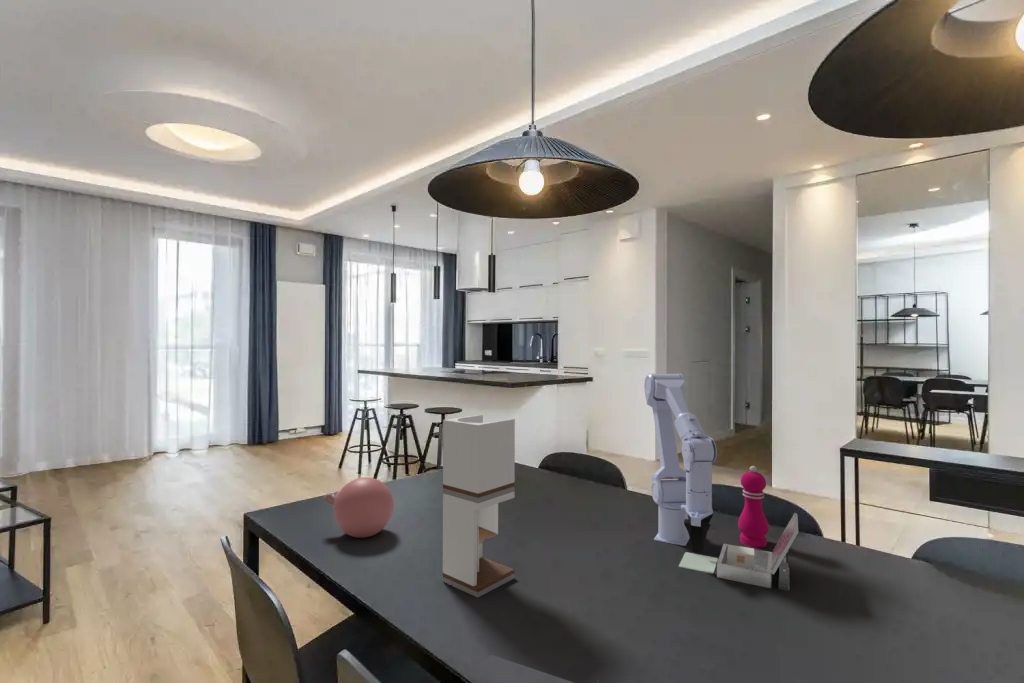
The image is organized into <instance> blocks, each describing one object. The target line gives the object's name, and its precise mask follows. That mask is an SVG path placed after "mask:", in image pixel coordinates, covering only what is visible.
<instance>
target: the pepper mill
mask: <svg viewBox="0 0 1024 683" xmlns="http://www.w3.org/2000/svg"><path fill="white" fill-rule="evenodd" d="M740 484H741V486H742V488H743V489H742V496H744V507H743V509H742V512H741V513H740V515H739V518H738V522H737V527H738V529H739V530H740V532H741V533H740V534H739V541H740V543H741V544H743V545H745V546H748V547H752V548H763V547H764V548H765V547H766V546H767V544H768V543H767V541H768V538H767V537H766V535H767V534H768V533H769V532H770V531H769V530H770V528H769V527H770V526H769V522H768V520H767V517H766V516H765V513H764V510H763V499H765V495H764V494H765V492H764V490H765V488H766V487H767V481H766V478H765V477H764V475H763V474H762V473H761V472H758V468H757V467H756V466H755V465H751V466H750V467H749V471H746V472H744V473H743V474H742V475H741V477H740Z"/></svg>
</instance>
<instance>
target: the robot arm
mask: <svg viewBox="0 0 1024 683" xmlns="http://www.w3.org/2000/svg"><path fill="white" fill-rule="evenodd" d="M686 384H687V383H686V379H685V376H684V375H683V373H680V372H678V373H650V372H649V373H647V375H646V376H645V379H644V384H643V387H644V394H645V400H646V405H647V406H649V407H651V408H652V409H651V410H652V414H653V420H654V427H655V428H654V430H655V436H656V442H657V451H658V457H659V466H660V468H659V469H658V470H657V471H655V472H654V473H653V474H652V476H651V491H650V492H651V496H652V500H653V502H655V504H657V505H658V509H657V510H658V518H657V519H658V522H657V523H658V530H657V531H658V532H657V533H656V536H655V537H654V538H653V540H654V541H657V542H660V543H667V544H673V545H677V546H682V547H685V546H687V544H688V543H689V542H690V547H691V549H692V550H691V551H692V553H696V554H703V551H704V547H705V543H706V539H707V536H708V535H707V533H708V531H709V529H710V528H711V523H710V522H711V520H712V518H713V516H714V510H713V496H712V495H713V494H712V493H713V483H712V482H713V477H712V476H713V463H714V462H716V459H717V456H718V451H717V444H716V443H715V439H714V438H712V437H710V436H709V434H706V433H705V431H704V429H703V427H702V425H701V423H700V421H699V419H698V417H697V415H695V413H691V412H690V409H689V406H688V402H687V399H686V396H685V393H686V387H687V385H686ZM672 413H673V414H672ZM673 415H674V417H675V418H676V419H675V420H673ZM675 430H676V432H677V434H678V436H679V437H678V438H680V441H681V443H682V444H681V456H682V460H683V467H684V469H683V468H682V467H680V460H679V454H678V449H677V441H676V434H675ZM688 516H689V518H688ZM689 540H690V541H689Z"/></svg>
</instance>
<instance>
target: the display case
mask: <svg viewBox="0 0 1024 683" xmlns="http://www.w3.org/2000/svg"><path fill="white" fill-rule="evenodd" d="M483 419H484V414H475V415H469V416H462V417H456V418H449V419H448V418H447V419H442V428H443V429H442V433H443V434H442V448H443V449H442V583H444V582H445V584H446V583H447V584H446V585H448V586H449V585H450V586H451V585H452V586H451V587H453V588H456V589H458V590H460V591H462V592H464V593H467V594H469V595H471V596H473V597H476V598H477V599H478V598H479V597H481V596H483V595H486V594H487V593H489V592H491V591H493V590H495V589H497V588H499V587H500V586H503V585H505V584H506V583H508V582H510V581H512V580H514V579H515V568H512V567H509V566H507V565H504V564H501V563H499V562H496V561H494V560H491V559H489V558H485V557H483V542H484V541H485V540H486V541H487V540H489V539H491V538H494V537H496V536H498V535H499V504H500V503H503V502H507V501H508V500H512V499H514V498H515V496H516V495H515V489H516V488H515V486H516V485H515V480H516V477H515V476H516V475H515V472H516V469H515V468H516V467H515V465H516V464H515V461H516V459H515V456H516V455H515V453H516V452H515V451H516V450H515V449H516V448H515V447H516V444H515V442H516V440H515V439H516V438H515V437H516V435H515V429H516V428H515V427H516V426H515V425H516V421H515V418H507V419H501V420H496V421H488V422H484V420H483Z"/></svg>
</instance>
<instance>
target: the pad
mask: <svg viewBox="0 0 1024 683" xmlns="http://www.w3.org/2000/svg"><path fill="white" fill-rule="evenodd" d="M718 559H719V557H714V556H709V555H704V554H700V553H694V552H686V551H685V552H684V554H683V557H682V558H681V560H680V562H679V564H678V568H682V569H687V570H692V571H697V572H701V573H708V574H714V572H715V570H716V568H717V562H718Z"/></svg>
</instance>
